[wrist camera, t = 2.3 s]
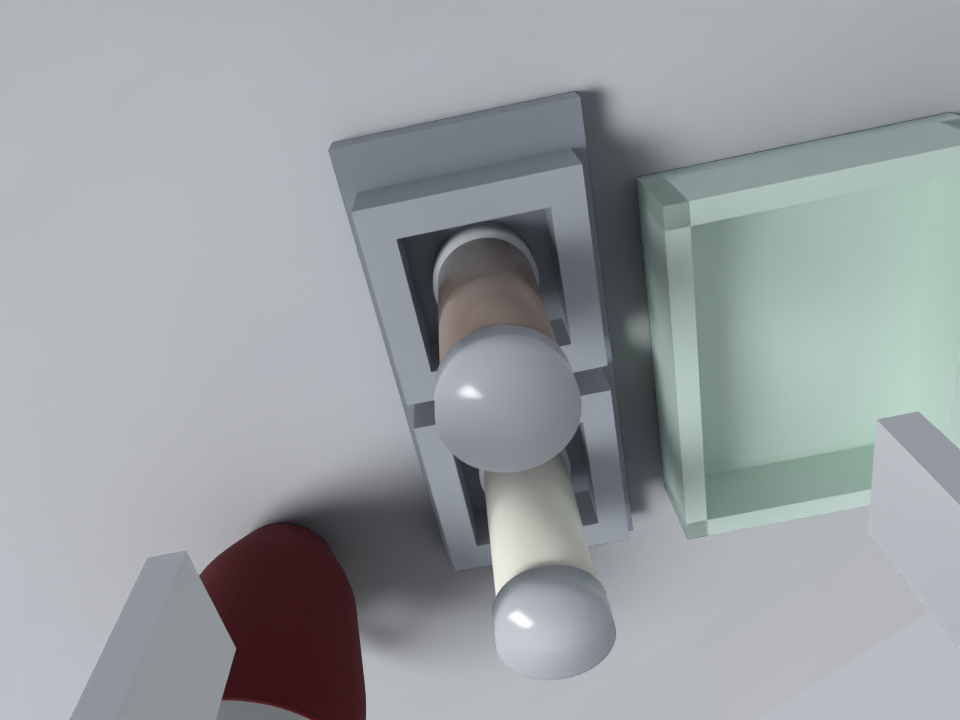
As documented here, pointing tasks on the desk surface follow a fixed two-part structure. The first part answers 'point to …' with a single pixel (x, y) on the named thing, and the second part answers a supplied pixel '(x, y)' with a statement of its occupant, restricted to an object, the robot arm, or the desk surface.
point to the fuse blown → (498, 355)
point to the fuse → (544, 575)
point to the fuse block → (562, 283)
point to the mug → (287, 628)
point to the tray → (800, 317)
